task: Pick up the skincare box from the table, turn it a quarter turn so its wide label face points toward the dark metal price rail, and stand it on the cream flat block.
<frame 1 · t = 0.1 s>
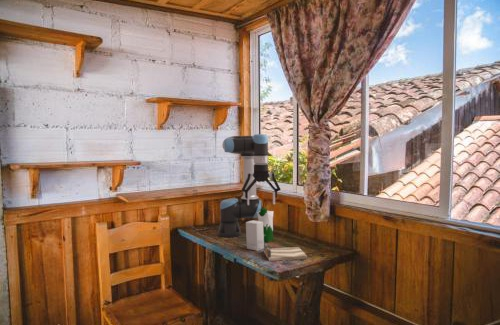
hand: (261, 204, 189), 28 cm above the table, tool pointing down, fingers open, 13 cm apart
skincare box: (255, 249, 205), on the table
milk carton: (265, 240, 222), on the table
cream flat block: (284, 254, 193), on the table
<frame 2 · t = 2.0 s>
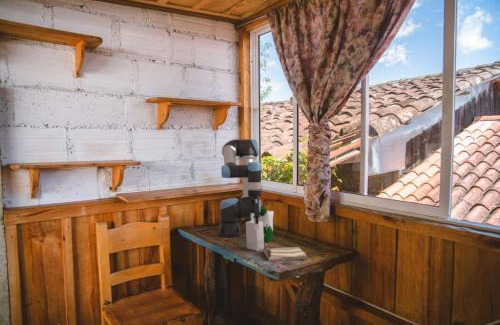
hand: (254, 226, 204), 13 cm above the table, tool pointing down, fingers open, 13 cm apart
nothing on the table moved.
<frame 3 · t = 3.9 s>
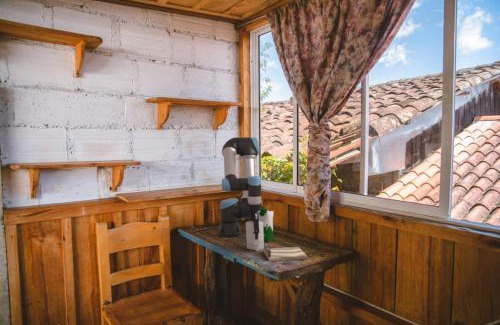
hand: (254, 242, 205), 4 cm above the table, tool pointing down, fingers closed on skincare box, 10 cm apart
skincare box: (255, 249, 205), on the table, touching gripper
everything else where it was.
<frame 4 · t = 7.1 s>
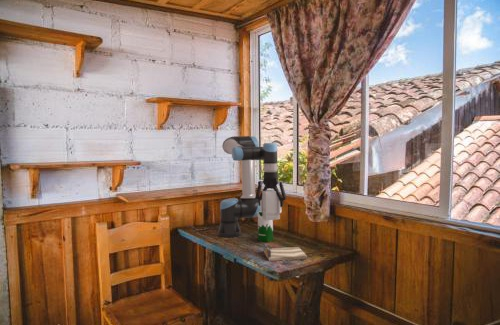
hand: (270, 212, 196), 22 cm above the table, tool pointing down, fingers closed on skincare box, 10 cm apart
skincare box: (271, 219, 196), point 18 cm above the table, touching gripper
everything else where it was.
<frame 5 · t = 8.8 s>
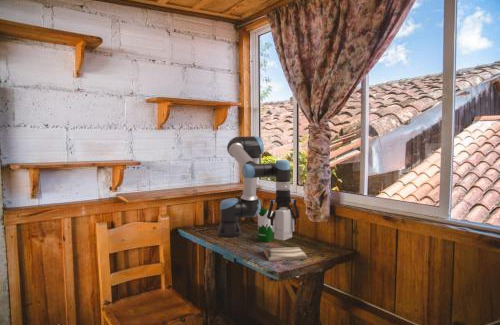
hand: (283, 231, 191), 13 cm above the table, tool pointing down, fingers closed on skincare box, 10 cm apart
skincare box: (283, 238, 192), point 9 cm above the table, touching gripper
everything else where it was.
when the fingers open (7 cm above the table, at t = 10.3 s): skincare box drops 1 cm, resting on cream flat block.
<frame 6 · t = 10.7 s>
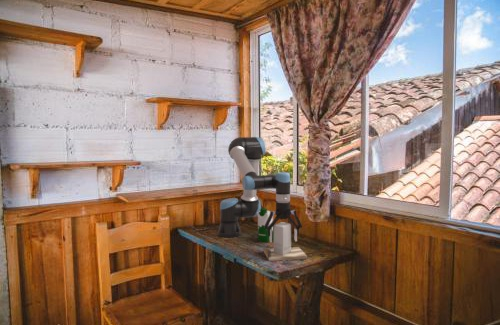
hand: (283, 241, 192), 8 cm above the table, tool pointing down, fingers open, 13 cm apart
skincare box: (282, 253, 192), point 1 cm above the table, touching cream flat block
everything else where it was.
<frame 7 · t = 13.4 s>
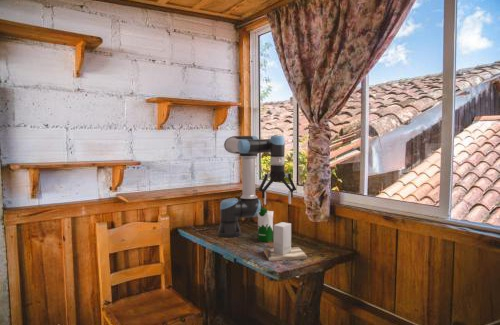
hand: (277, 203, 194), 27 cm above the table, tool pointing down, fingers open, 13 cm apart
nothing on the table moved.
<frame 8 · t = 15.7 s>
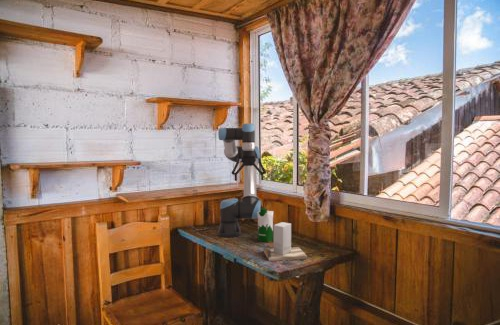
hand: (248, 186, 212), 35 cm above the table, tool pointing down, fingers open, 13 cm apart
nothing on the table moved.
at the end: skincare box inside the target area on the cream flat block (1.6 cm from its centre), point 1.3 cm above the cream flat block's base; skincare box tilted 0°; the gripper is holding nothing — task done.
